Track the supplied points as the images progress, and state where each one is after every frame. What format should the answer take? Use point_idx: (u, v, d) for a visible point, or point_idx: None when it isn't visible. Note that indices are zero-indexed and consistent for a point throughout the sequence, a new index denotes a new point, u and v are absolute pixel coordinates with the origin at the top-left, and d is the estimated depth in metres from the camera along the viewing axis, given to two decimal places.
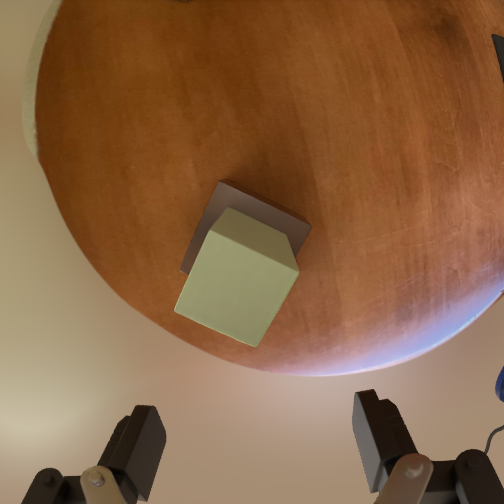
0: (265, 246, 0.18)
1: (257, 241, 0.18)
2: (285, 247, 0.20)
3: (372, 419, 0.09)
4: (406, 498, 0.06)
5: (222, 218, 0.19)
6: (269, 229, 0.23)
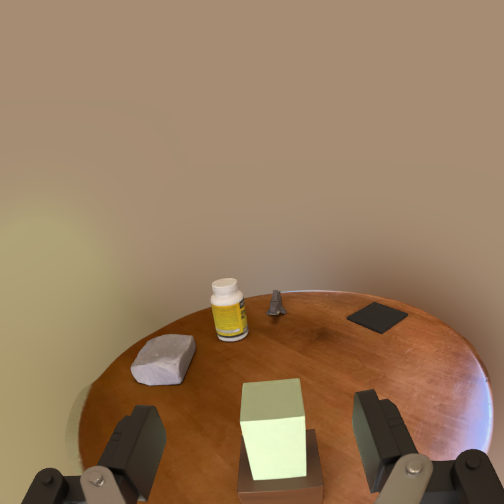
0: None
1: None
2: None
3: (372, 419, 0.09)
4: (406, 498, 0.06)
5: None
6: None
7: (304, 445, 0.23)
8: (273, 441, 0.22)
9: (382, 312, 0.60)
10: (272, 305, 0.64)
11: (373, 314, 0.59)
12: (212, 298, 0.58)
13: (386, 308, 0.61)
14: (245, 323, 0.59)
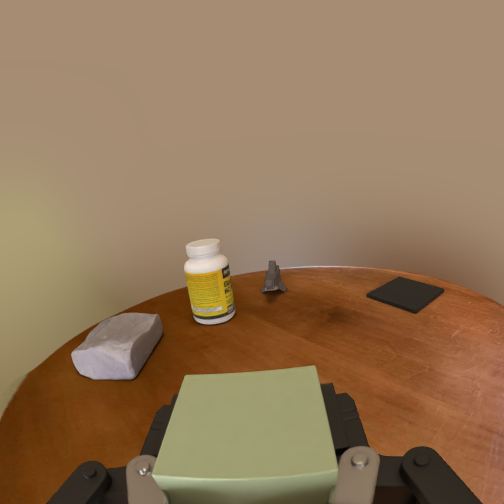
0: None
1: None
2: None
3: (326, 411, 0.10)
4: (348, 489, 0.06)
5: None
6: None
7: None
8: None
9: (411, 288, 0.44)
10: (268, 278, 0.48)
11: (400, 290, 0.44)
12: (186, 264, 0.43)
13: (416, 283, 0.45)
14: (230, 300, 0.44)
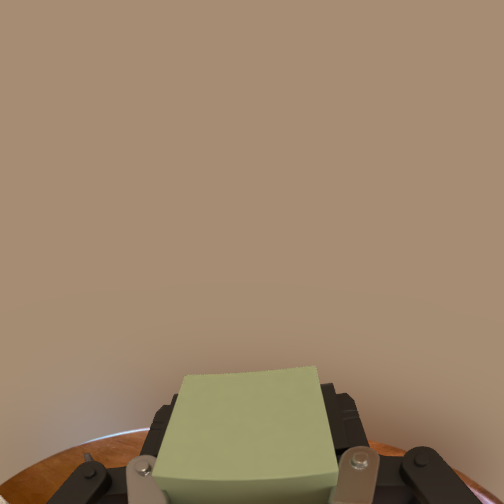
0: None
1: None
2: None
3: (326, 411, 0.10)
4: (348, 489, 0.06)
5: None
6: None
7: None
8: None
9: None
10: None
11: None
12: None
13: None
14: None
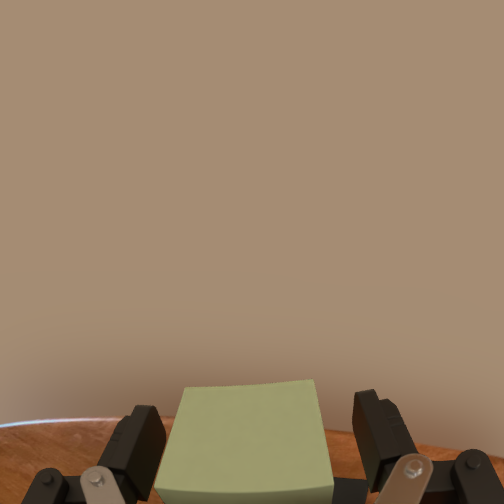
0: None
1: None
2: None
3: (372, 419, 0.09)
4: (406, 498, 0.06)
5: None
6: None
7: None
8: None
9: None
10: None
11: None
12: None
13: None
14: None
